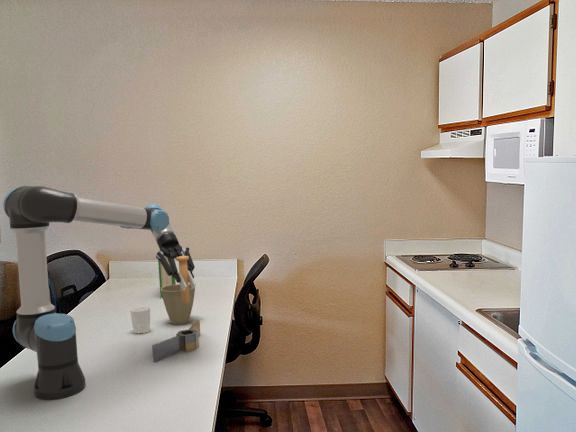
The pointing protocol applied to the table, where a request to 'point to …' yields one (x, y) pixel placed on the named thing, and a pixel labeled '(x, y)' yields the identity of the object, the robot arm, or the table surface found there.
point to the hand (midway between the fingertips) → (189, 287)
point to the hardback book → (164, 276)
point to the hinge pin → (184, 277)
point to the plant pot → (177, 303)
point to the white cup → (140, 319)
